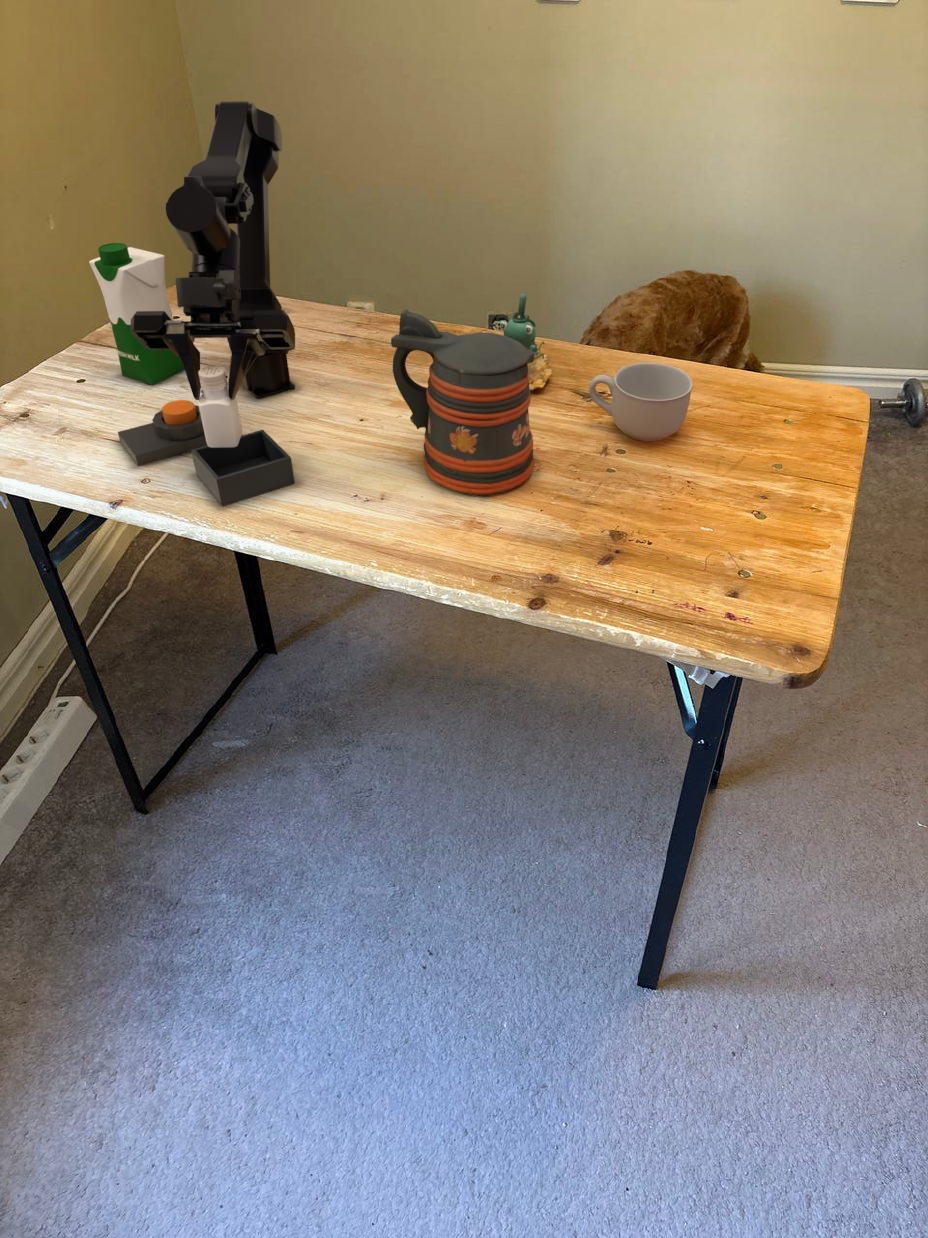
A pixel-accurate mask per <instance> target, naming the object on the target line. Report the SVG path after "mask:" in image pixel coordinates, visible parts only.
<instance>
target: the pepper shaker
mask: <svg viewBox="0 0 928 1238" xmlns="http://www.w3.org/2000/svg"><path fill="white" fill-rule="evenodd" d="M198 374H199V379H200V383H201V391H202V393H201V394H200V398H199V400H198V403H197V404H198V405H197V406H199V410H200V414H201V419H202V424H203V428H204V433H205V438H206V442H207V445H208V447H211V448H220V447H236V446H238V443H239V441H240V438H241V436H242V435H243V426H242V422H241V417H240V411H239V406H238V405H239V404H238V400H237V395H236V396H235V399H234V400H231V399H230V398H229V389H228V383H229V382H228V380H227V375H226V369H225V368H224V367H223V366H221V365H207V366H205V367H202V368H200V370H199V371H198Z"/></svg>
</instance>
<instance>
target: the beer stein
mask: <svg viewBox="0 0 928 1238" xmlns="http://www.w3.org/2000/svg"><path fill="white" fill-rule="evenodd" d="M398 328H399V329H398V330H399V331H398V333H397V334H395V335H393V336H392V337H391V338H390V343H391V347H392V348H395V352H394V354H393V358H392V374H393V378H394V382H395V384H396V387H397V389H398V391H399V393H400V395H401V396H402V398H403V401H404V402H405V403H406V405H407V406H408V408H409V410H410V411H411V416H409V420H410V422H411V423H412V424H413V425H414V426H415V427H416V429H417V430H420V428H424V429H425V430H424V437H423V438H424V443H423V452H424V454H423V466H424V467H423V468H424V470H425V471H426V474H427V475H428V477H429V478H430V479H431V480H432V481H433V483H436V484H437V485H439V486H441V487H443V488H446V489H447V490H451V491H454V492H458V493H462V494H468V495H475V496H486V495H496V494H500V493H504V492H508V491H510V490H512V489H516V488H518V487H519V486H521V485H522V484H524V483H525V482H527V481H528V479H529V478H530V477H531V476H532V474H533V472H534V471H533V470H534V468H535V461H534V459H535V458H534V449H533V448H534V436H533V433H532V431H531V429H530V414H529V413H530V411H529V407H530V405H531V400H532V399H531V391H530V388H529V380H528V365H527V364H528V363H531V362H533V361H534V352H528V350H527V349H526V348H525V346H523V345H522V344H521V343H519V342H518V341H516V340H514V339H512V338H509V337H507V336H504V334H503V335H502V334H499V333H493V332H473V333H472V332H471V333H464V334H459V335H457V334H455V333H453V332H451V331H450V332H449V331H441V330H438V328H437V326H436V325H435V324H434V323H433V322H432V321H431V320H430V319H428V318H426V317H425V316H424V315H422V314H419V313H416V312H412V311H409V310H408V309H403V310H402V312H401V313H400V317H399V327H398ZM414 351H420V352H424V353H426V354H428V355H429V356H430V357H431V359H432V363H431V364H430V366H429V368H428V374H429V376H428V379H427V386H422V385H420V384H419V383H417V382H416V381H415V380H413V379H412V378H411V377H410V375H409V373H408V371H407V367H406V366H407V365H406V362H407V357H408V356H409V354H410V353H412V352H414Z"/></svg>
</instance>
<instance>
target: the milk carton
mask: <svg viewBox="0 0 928 1238" xmlns="http://www.w3.org/2000/svg"><path fill="white" fill-rule="evenodd" d="M97 250H98V255H99V257H96V258H93V259H91V260H89V262H88V263H89V265H90V268H91V270H92V272H93V274H94V277H95V278H96V280H97V283H98V285H99V287H100V290H101V293H102V295H103V296H102V297H103V300H104V304H105V307H106V308H105V309H106V312H107V316H108V319H109V322H110V327H111V330H112V334H113V338H114V342H115V345H116V350H117V355H118V360H119V365H120V372H121V376H122V377H125V378H128V379H130V380H134V381H138V382H140V383H144V384H146V385H149V386H154V385H157V384H159V383H161V382H163V381H165V380H167V379H169V378H171V377H174V376H176V375H177V374H179V373H182V372H183V371H185V369H184V366H183V363H182V361H181V359H180V357H179V356H177V355H176V354H175V353H174V352H173V351H172V350H149V349H146V348H145V347H144V346H143V345H142V344H141V343H140V342H139V341H138V340H137V339H136V338H135V337H134V336H133V334H132V333H131V318H132V317H133V316H134V314H135V313H136V312H137V311H165V312H166V314H167V315H168V316H169V317H170V319H171V320H172V321H173V320H174V319H173V318H174V317H173V314H172V310H171V305H170V300H169V295H168V290H167V286H166V278H165V275H166V274H165V273H166V271H165V269H166V267H165V263H166V262H165V260H166V259H165V256H166V255H165V254H161V253H158V252H154V251H153V252H152V251H148V250H144V249H140V248H136V247H132V246H129V247H128V246H127V244H125V243H122V242H111V243H110V242H109V243H105V244H102V245H100V246H99V247H98V248H97Z"/></svg>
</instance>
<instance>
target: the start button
mask: <svg viewBox="0 0 928 1238" xmlns="http://www.w3.org/2000/svg"><path fill="white" fill-rule="evenodd" d="M195 405H196V404H195V403H194V402H193V401H191V400H187V399H178V400H177V399H176V400H172V401H169V402H167V403H165V404H164V405H163V406H162V407H161V410H162V413H163V417H164V421H165V423H167V424H171V425H182V424H186V423H190V422H192V421H194V420H195V419H196V418H197V414H196V409H195Z"/></svg>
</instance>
